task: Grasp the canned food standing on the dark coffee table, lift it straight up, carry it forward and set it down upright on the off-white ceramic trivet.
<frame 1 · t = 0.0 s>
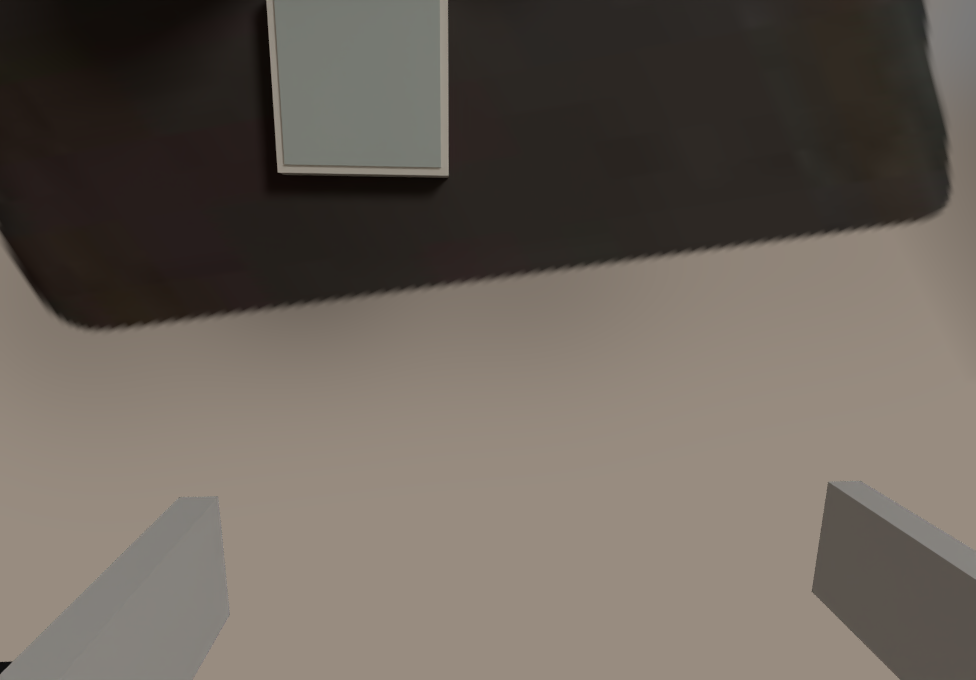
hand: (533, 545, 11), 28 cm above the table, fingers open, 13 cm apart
trivet: (364, 89, 35), on the table
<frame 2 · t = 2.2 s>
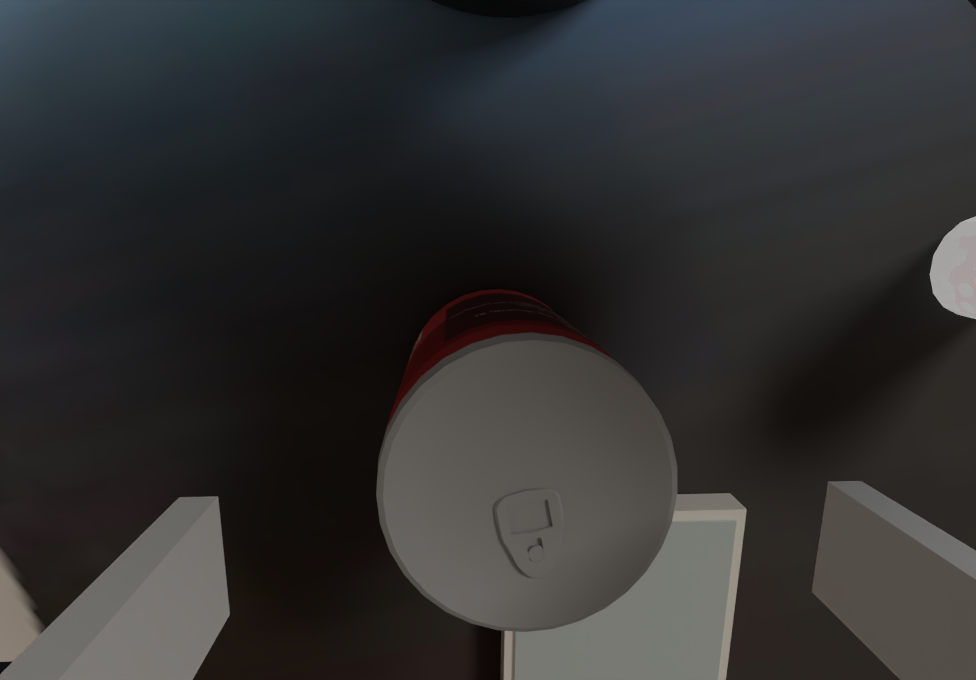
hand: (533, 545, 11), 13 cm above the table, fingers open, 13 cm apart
canned food: (494, 374, 24), on the table
trivet: (611, 596, 27), on the table
beverage cup: (974, 265, 24), on the table
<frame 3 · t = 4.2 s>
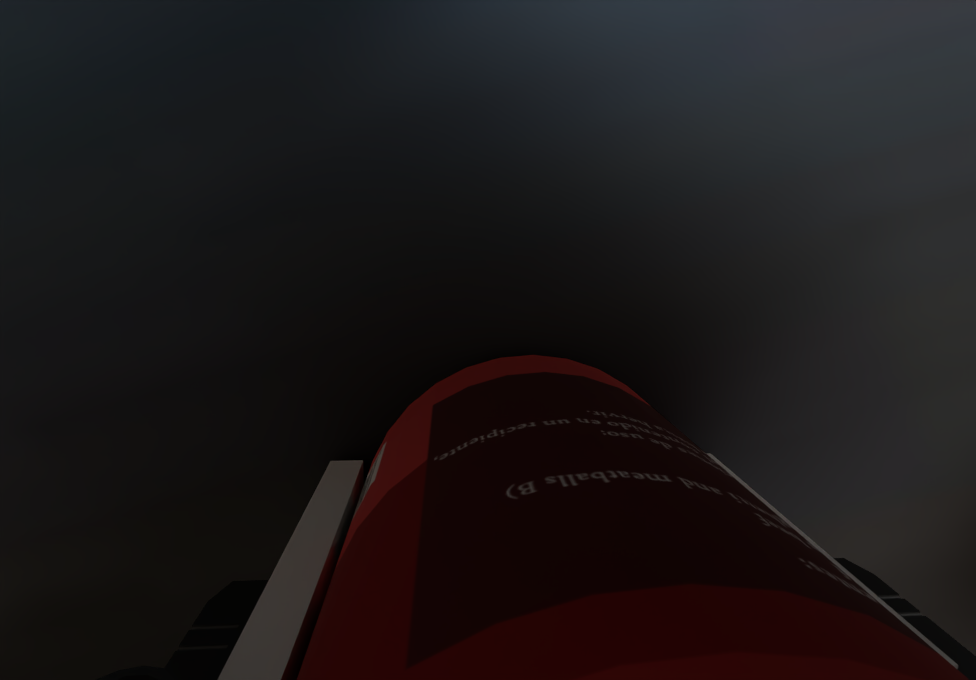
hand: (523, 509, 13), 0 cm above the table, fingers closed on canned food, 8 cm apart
canned food: (521, 498, 13), on the table, touching gripper
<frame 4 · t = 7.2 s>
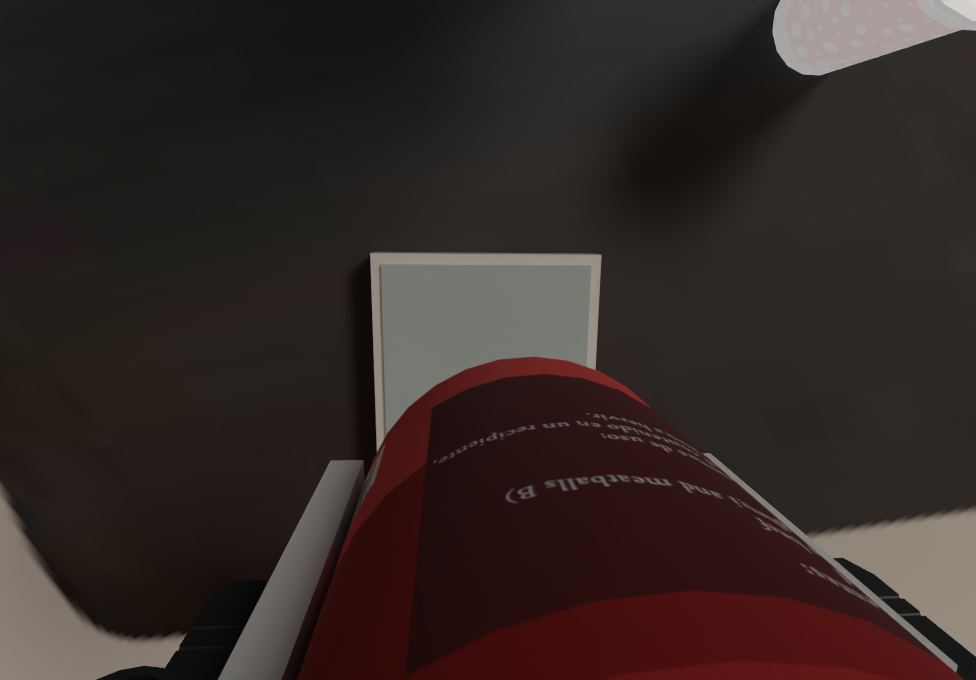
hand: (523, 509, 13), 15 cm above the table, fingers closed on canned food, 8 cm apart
canned food: (521, 500, 13), point 15 cm above the table, touching gripper
trivet: (484, 359, 28), on the table
beverage cup: (815, 25, 26), on the table
when the fingers open (3 cm above the table, at t = 10.1 s): canned food drops 1 cm, resting on trivet.
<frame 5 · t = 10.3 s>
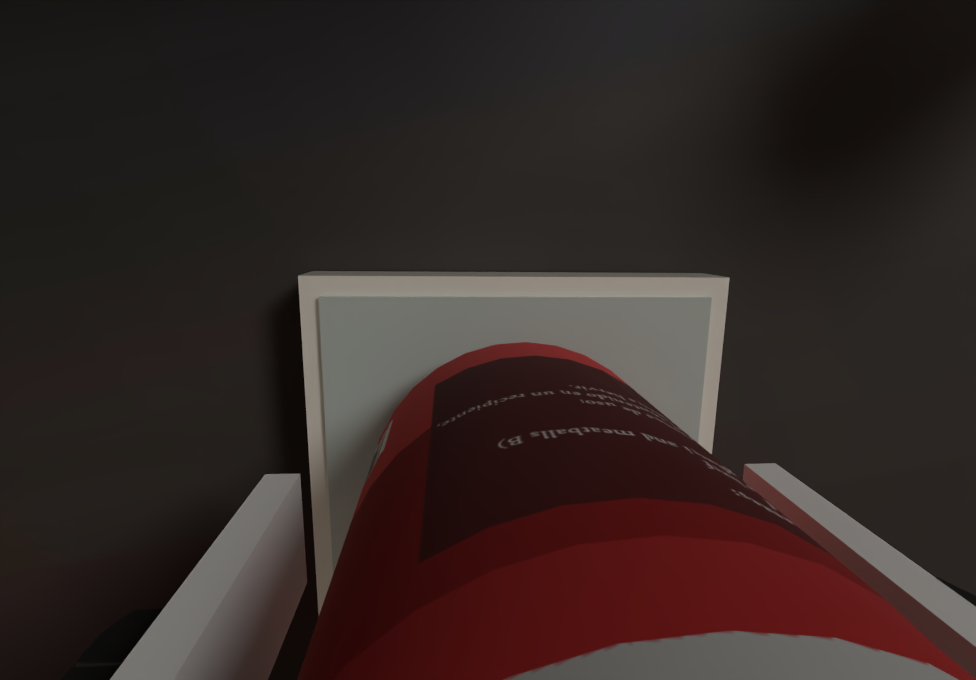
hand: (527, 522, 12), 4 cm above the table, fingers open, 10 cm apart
canned food: (515, 475, 15), point 1 cm above the table, touching trivet
trivet: (509, 455, 16), on the table
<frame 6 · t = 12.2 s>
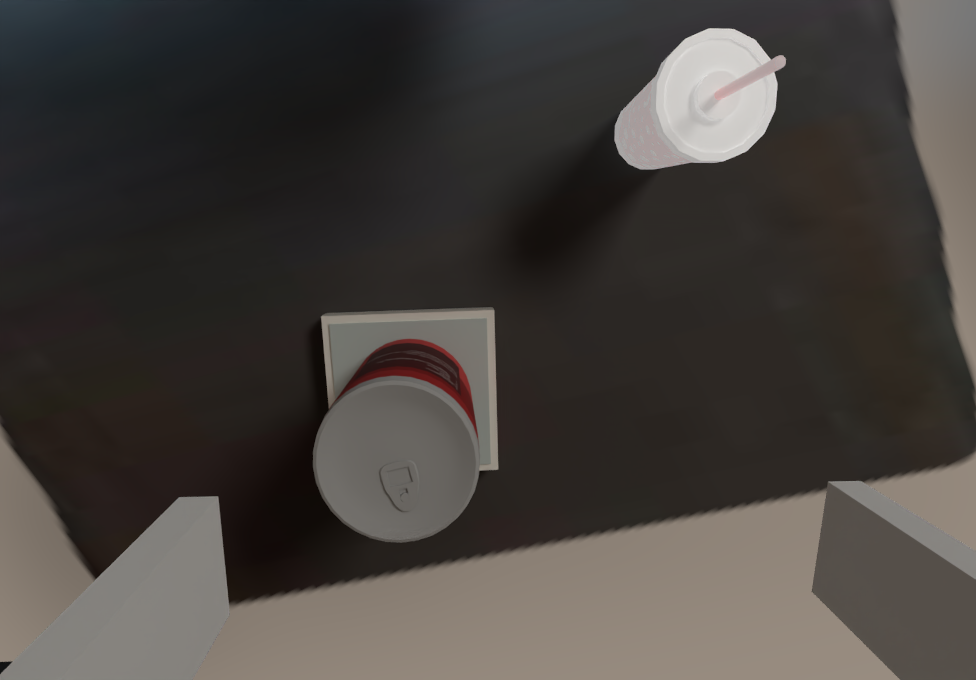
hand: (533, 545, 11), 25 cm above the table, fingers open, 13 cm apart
canned food: (413, 394, 35), point 1 cm above the table, touching trivet
trivet: (414, 389, 37), on the table
beverage cup: (647, 133, 35), on the table
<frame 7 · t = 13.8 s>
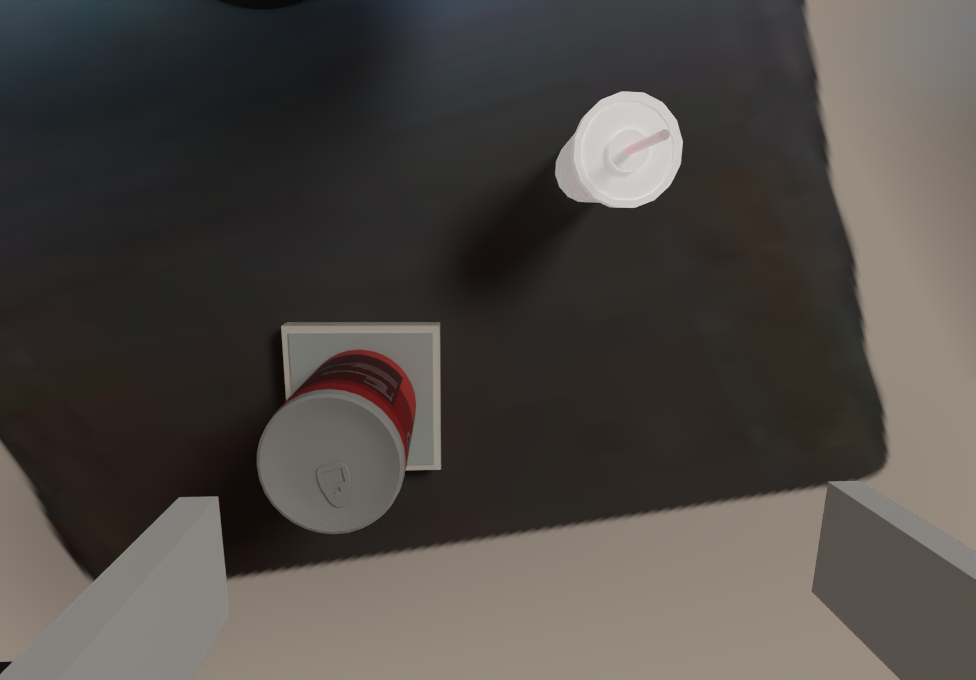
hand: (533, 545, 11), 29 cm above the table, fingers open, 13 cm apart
canned food: (364, 399, 39), point 1 cm above the table, touching trivet
trivet: (367, 394, 40), on the table
beverage cup: (586, 169, 38), on the table
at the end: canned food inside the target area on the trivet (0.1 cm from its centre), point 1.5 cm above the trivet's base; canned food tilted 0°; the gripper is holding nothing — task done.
